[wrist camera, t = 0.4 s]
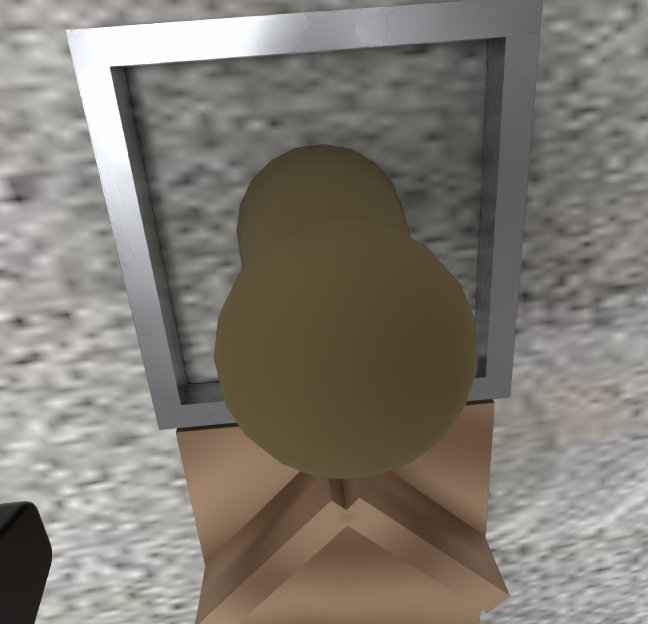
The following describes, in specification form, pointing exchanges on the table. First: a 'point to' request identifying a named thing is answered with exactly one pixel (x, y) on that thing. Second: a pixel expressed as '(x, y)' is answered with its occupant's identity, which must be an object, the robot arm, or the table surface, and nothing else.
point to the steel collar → (304, 38)
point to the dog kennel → (344, 533)
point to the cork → (340, 322)
